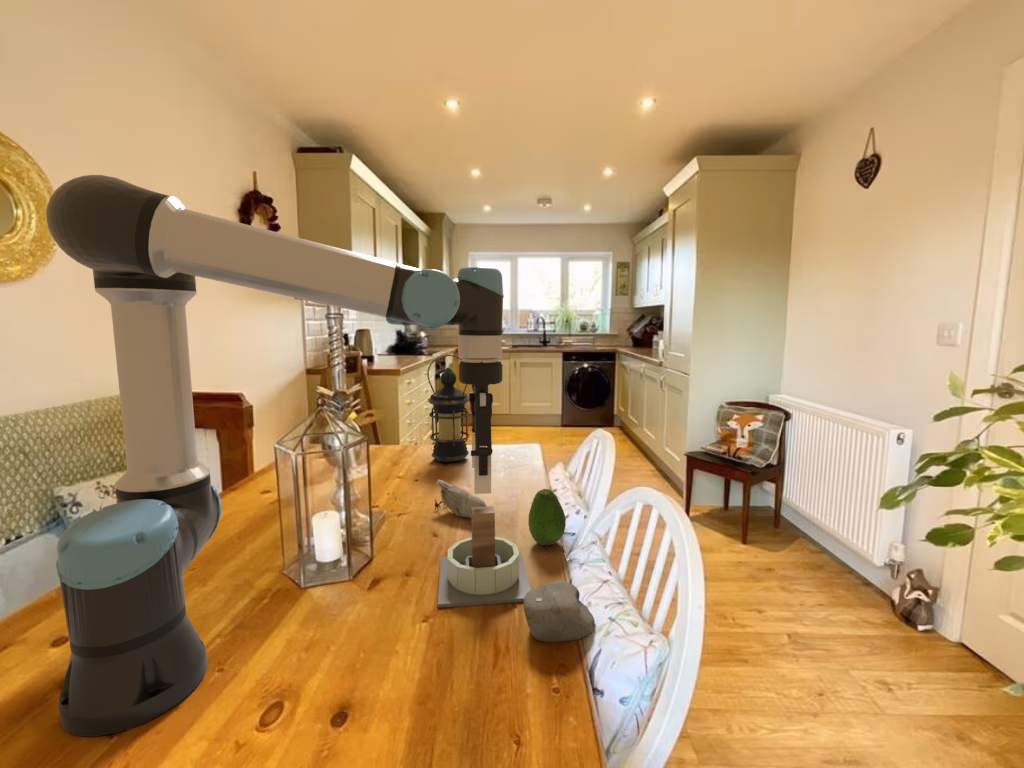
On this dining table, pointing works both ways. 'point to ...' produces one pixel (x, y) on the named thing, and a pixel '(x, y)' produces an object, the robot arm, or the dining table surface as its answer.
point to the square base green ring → (482, 576)
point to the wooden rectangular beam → (483, 537)
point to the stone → (557, 613)
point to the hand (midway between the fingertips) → (480, 479)
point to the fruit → (546, 518)
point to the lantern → (449, 418)
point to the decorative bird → (458, 499)
